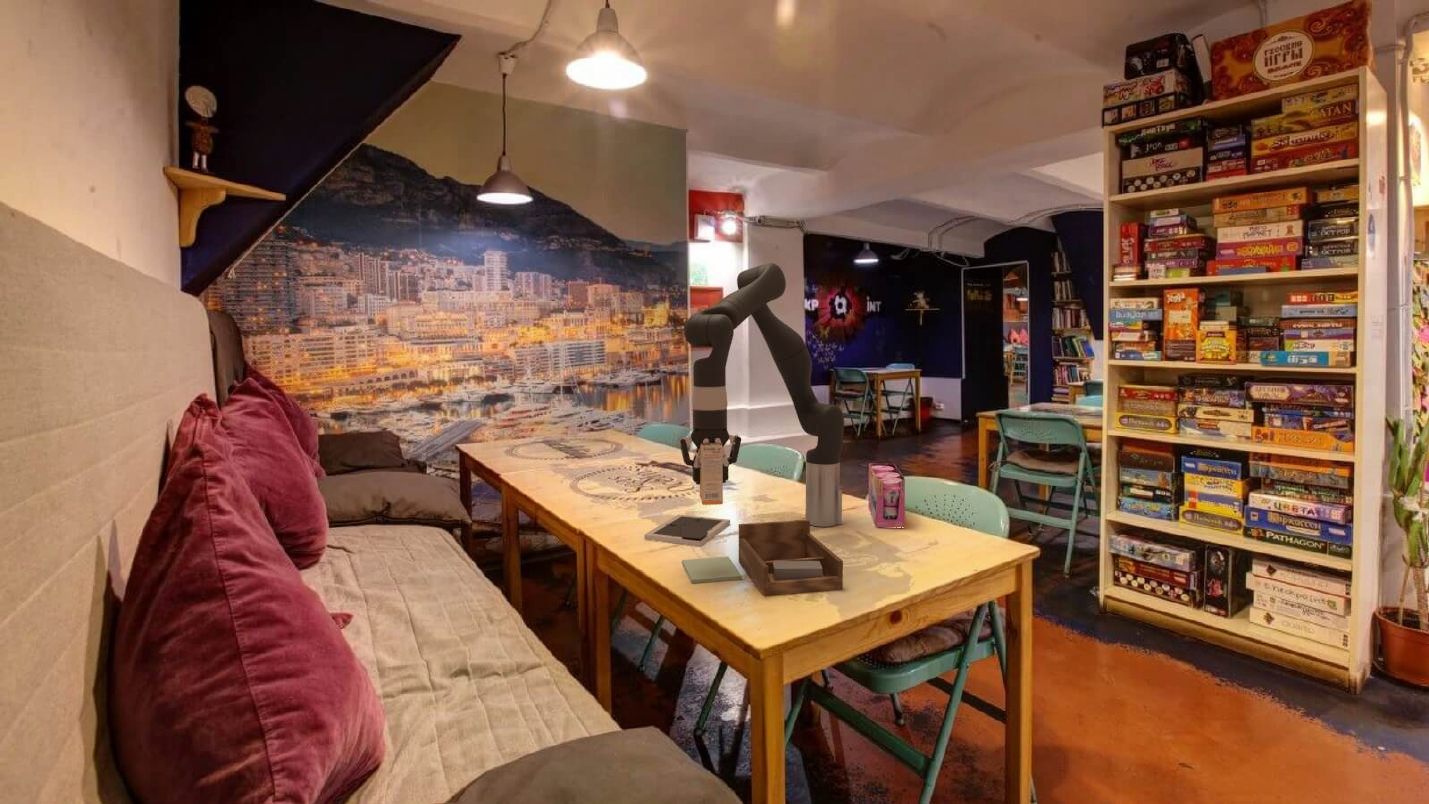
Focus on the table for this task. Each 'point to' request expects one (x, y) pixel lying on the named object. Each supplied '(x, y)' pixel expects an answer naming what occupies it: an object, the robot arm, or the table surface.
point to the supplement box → (711, 474)
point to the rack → (786, 556)
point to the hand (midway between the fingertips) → (710, 482)
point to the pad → (711, 569)
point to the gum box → (886, 495)
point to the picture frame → (688, 530)
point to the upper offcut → (796, 570)
